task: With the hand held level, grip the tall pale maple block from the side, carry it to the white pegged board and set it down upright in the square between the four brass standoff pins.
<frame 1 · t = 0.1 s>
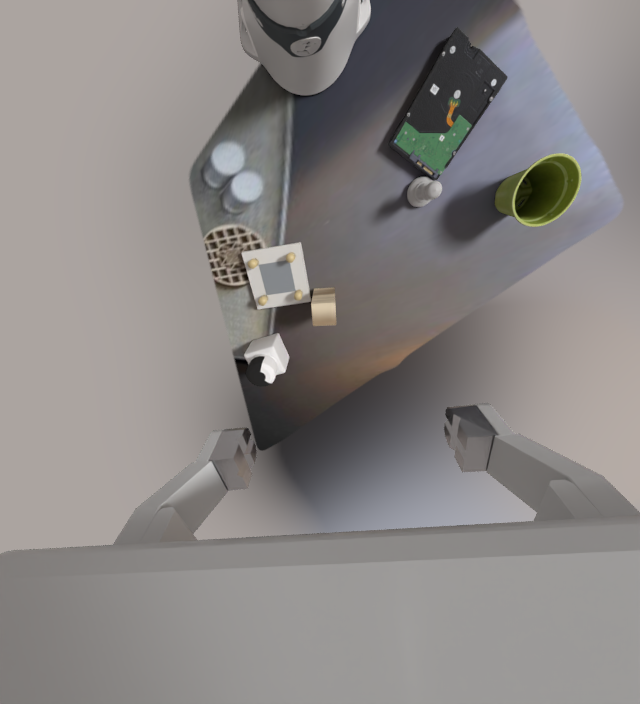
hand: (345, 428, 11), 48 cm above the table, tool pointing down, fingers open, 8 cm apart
plant pot: (510, 194, 47), on the table
maple block: (324, 297, 58), on the table
chess piece: (419, 192, 48), on the table
white pegged board: (278, 276, 56), on the table
disk drive: (439, 116, 43), on the table
medicine bottle: (271, 348, 64), on the table
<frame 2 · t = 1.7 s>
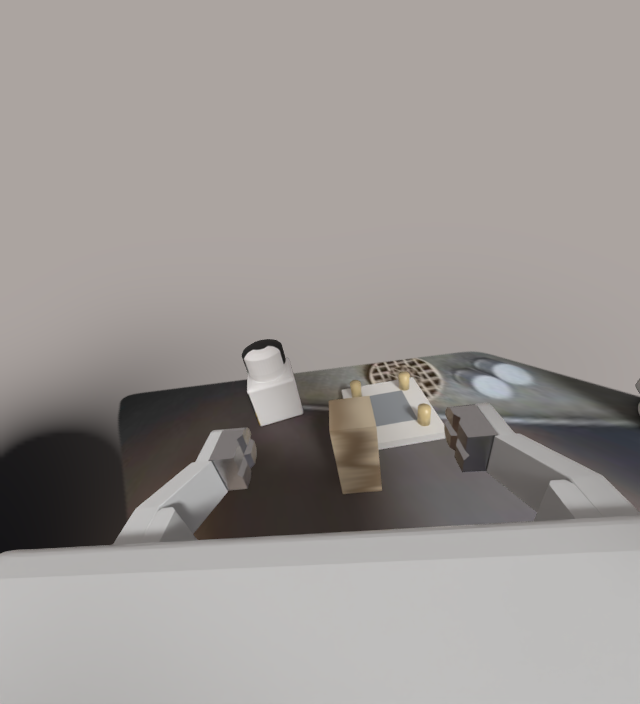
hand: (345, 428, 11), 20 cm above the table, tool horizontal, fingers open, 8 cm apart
maple block: (359, 474, 31), on the table
white pegged board: (387, 413, 39), on the table
medicine bottle: (280, 407, 45), on the table
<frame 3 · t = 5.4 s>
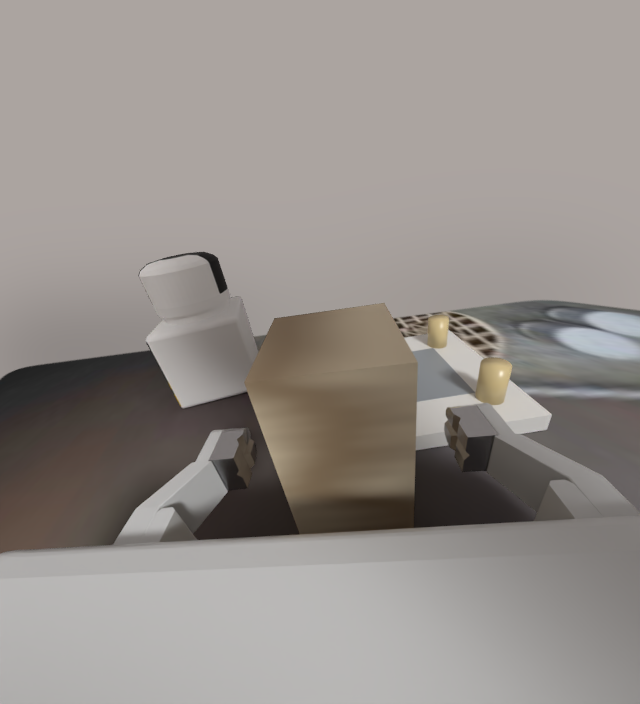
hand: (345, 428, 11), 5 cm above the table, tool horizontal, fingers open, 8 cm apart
maple block: (356, 511, 13), on the table
white pegged board: (410, 386, 21), on the table
medicine bottle: (226, 380, 27), on the table
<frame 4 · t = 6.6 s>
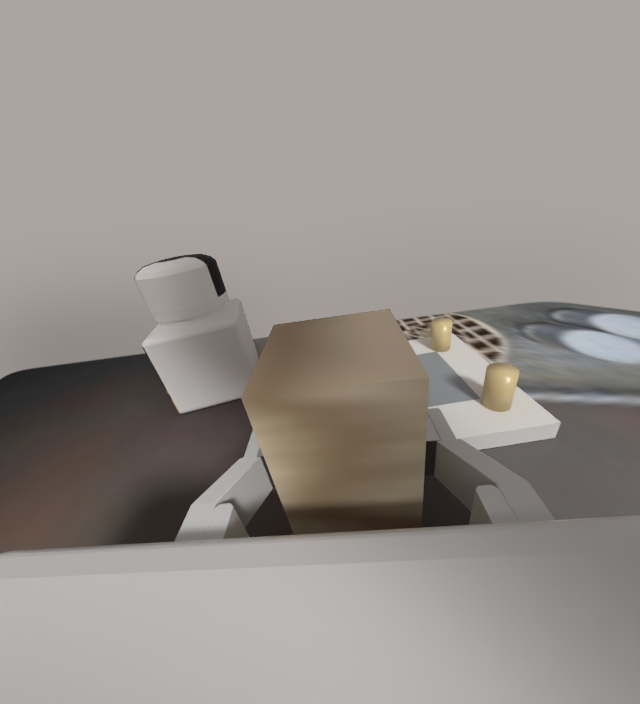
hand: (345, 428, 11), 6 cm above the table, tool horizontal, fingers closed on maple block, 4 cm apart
maple block: (359, 524, 13), on the table, touching gripper
white pegged board: (413, 391, 21), on the table
medicine bottle: (224, 384, 26), on the table
when the fingers open (8 cm above the table, at t = 12.3 s): maple block drops 1 cm, resting on white pegged board.
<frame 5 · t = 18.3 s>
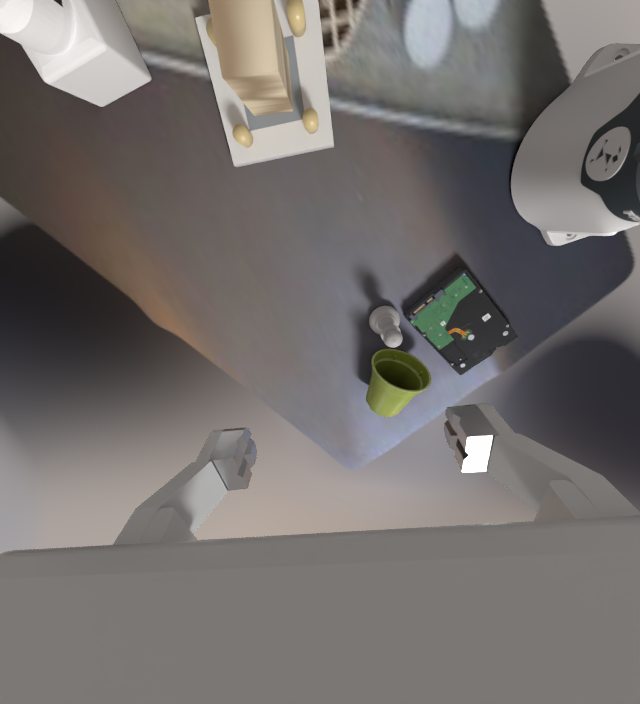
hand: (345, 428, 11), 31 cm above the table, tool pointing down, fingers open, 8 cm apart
plant pot: (382, 403, 46), point 3 cm above the table
maple block: (270, 86, 28), point 1 cm above the table, touching white pegged board
chess piece: (383, 318, 42), on the table
white pegged board: (272, 90, 29), on the table
disk drive: (455, 320, 42), on the table
medicine bottle: (107, 53, 28), on the table
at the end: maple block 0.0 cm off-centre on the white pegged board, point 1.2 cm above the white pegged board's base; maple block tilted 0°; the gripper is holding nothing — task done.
